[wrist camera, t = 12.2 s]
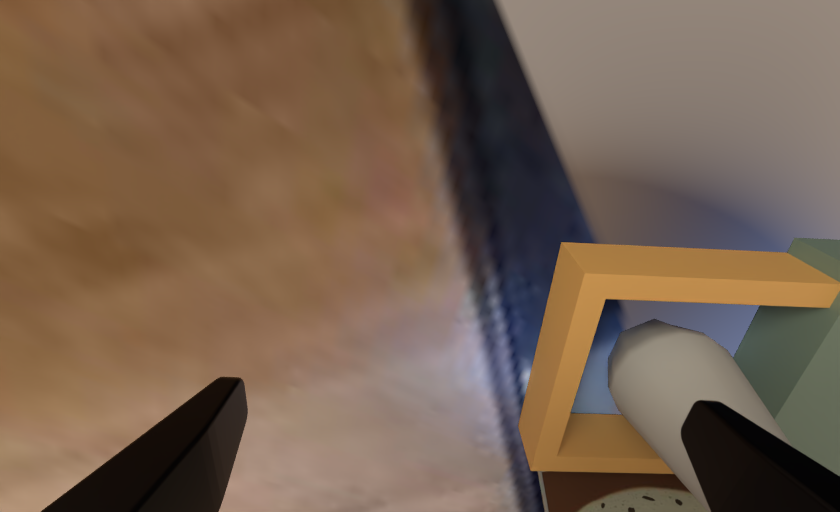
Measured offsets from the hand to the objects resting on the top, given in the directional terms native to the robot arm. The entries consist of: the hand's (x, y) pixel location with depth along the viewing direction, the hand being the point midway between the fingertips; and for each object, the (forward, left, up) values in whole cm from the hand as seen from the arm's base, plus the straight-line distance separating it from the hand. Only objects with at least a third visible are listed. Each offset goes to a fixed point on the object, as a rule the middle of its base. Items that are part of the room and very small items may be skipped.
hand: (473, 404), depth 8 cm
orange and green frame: (-8, -17, -12) cm, 22 cm away
